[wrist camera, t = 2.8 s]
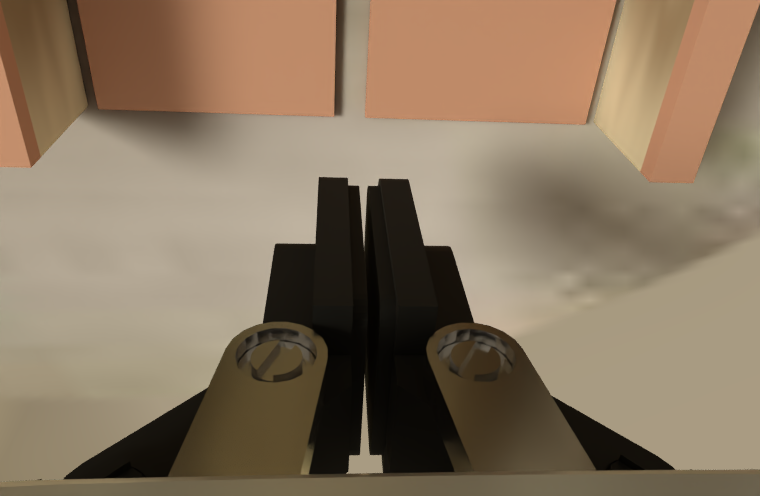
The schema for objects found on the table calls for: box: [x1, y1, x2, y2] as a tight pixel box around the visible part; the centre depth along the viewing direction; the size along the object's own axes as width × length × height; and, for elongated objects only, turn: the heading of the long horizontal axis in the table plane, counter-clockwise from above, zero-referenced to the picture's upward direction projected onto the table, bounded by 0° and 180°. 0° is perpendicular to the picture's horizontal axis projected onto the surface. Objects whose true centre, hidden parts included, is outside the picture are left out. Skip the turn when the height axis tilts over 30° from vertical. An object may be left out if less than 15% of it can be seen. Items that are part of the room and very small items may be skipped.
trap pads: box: [0, 0, 760, 183], centre depth 13 cm, size 5×15×4 cm, turn 87°
